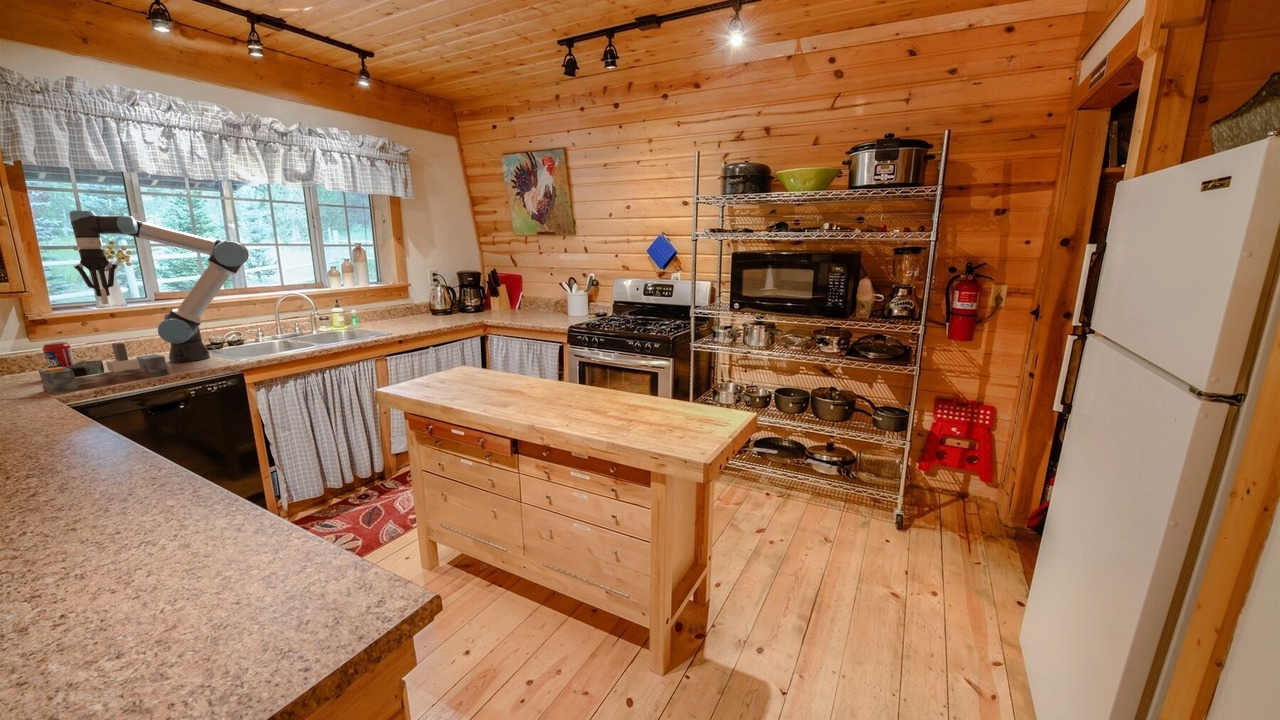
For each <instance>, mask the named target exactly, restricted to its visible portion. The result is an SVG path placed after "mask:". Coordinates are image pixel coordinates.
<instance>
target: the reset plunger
mask: <svg viewBox="0 0 1280 720" xmlns="http://www.w3.org/2000/svg"><path fill="white" fill-rule="evenodd" d="M45 370H46V371H47V372H55V371H62V370H65V368H63V367H56V368H49V369H48V368H45Z"/></svg>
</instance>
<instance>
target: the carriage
mask: <svg viewBox="0 0 1280 720" xmlns="http://www.w3.org/2000/svg"><path fill="white" fill-rule="evenodd" d="M111 346H112V350H113V354H114V355H113V356H114V358H115V359H112V360H111V359H109V360H105V363H106V367H107V372H119V371H125V370H132V369H138V368H140V364H139V360H138V359H137V358H136V357H128V353H127V349H126V346H125V342H121V341H119V342H112V343H111Z"/></svg>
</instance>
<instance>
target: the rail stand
mask: <svg viewBox="0 0 1280 720" xmlns="http://www.w3.org/2000/svg"><path fill="white" fill-rule="evenodd" d="M135 358H137V359H138V360H139V364H140V368H138V369H132V370H125V371H119V372H111V371H107V372H104V373H100V374H94V375H87V376H81V377H75V376H74V372H73V370H72V369H69V368H66V367H63V368H65V370H62V371H55V372H47V371H46V369H43V370H38V373H39V376H40V380H41V384H42V388H43V392H46V393H47V394H50V395H53V396H54V395H57V394H64V393H70V392H74V391H80V390H86V389H90V388H91V389H92V388H98V387H104V386H110V385H115V384H120V383H121V384H122V383H128V382H131V381H138V380H144V379H150V378H151V379H152V378H155V377H162V376H166V375H169V371H168V366H167V362H166V358H165V356H164V355H161V354H160V355H159V354H155V353H154V354H153V353H152V354H146V355H139V356H136V357H135Z"/></svg>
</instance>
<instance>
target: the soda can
mask: <svg viewBox="0 0 1280 720" xmlns="http://www.w3.org/2000/svg"><path fill="white" fill-rule="evenodd" d="M42 352H43V354H44V358H45V362H46V366H47V369H49V368H56V367H68V366H70V365H73V364H76V362H75V359H74V355H73V351H72V347H71V345H70V344H69V343H67V341H54V342H47V343H43V346H42Z"/></svg>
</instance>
